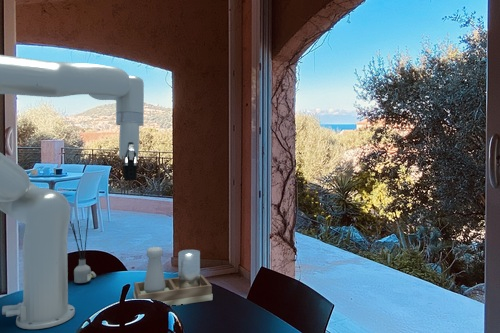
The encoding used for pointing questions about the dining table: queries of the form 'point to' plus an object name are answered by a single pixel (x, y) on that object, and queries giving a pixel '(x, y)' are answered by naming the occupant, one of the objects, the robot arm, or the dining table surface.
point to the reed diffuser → (82, 263)
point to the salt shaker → (154, 271)
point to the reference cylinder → (188, 268)
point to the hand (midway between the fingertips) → (129, 179)
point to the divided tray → (176, 292)
